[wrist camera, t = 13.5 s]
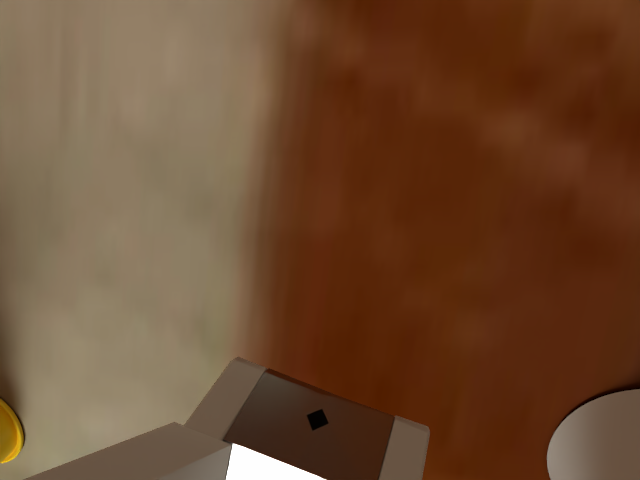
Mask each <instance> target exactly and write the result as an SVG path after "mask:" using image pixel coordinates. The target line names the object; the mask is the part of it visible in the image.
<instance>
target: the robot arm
mask: <svg viewBox="0 0 640 480" xmlns="http://www.w3.org/2000/svg"><path fill="white" fill-rule="evenodd" d="M429 435H430V431H429V428H428V426H425V425H422V424H419V423H416V422H413V421H410V420H407V419H404V418H401V417H399V416H396V415H395V417H394V416H393V415H391V414H388V413H385V412H382V411H379V410H377V409H374V408H371V407H368V406H366V405H363V404H360V403H357V402H355V401H352V400H349V399H346V398H344V397H341V396H338V395H335V394H333V393H330V392H328V391H325V390H323V389H320V388H318V387H315V386H313V385H310V384H307V383H305V382H302V381H300V380H297V379H295V378H292V377H290V376H287V375H285V374H282V373H280V372H277V371H275V370H272V369H270V368H269V369H267V368H266V367H263V366H260V365H258V364H255V363H253V362H250V361H248V360H245V359H243V358H240V357H237V358H235V359H233V360H232V361H231V362H230V363H229V364H228V366H227V367H226V368H225V370H224V371H223V372H222V374H221V375H220V377H219V378H218V379H217V381H216V382H215V383H214V385H213V386H212V388H211V389H210V390H209V392H208V393H207V394H206V396H205V397H204V399H203V400H202V401H201V403H200V404H199V405H198V407H197V408H196V409H195V411H194V412H193V414H192V415H191V416H190V418H189V419H188V420H187V422H186V423H185V425H184V426H183V425H181V424H178V423H175V422H173V423H170V424H168V425H165V426H162V427H160V428H157V429H155V430H152V431H149V432H147V433H144V434H142V435H139V436H136V437H134V438H131V439H128V440H126V441H123V442H121V443H118V444H115V445H113V446H110V447H107V448H105V449H102V450H100V451H97V452H94V453H92V454H89V455H86V456H84V457H81V458H79V459H76V460H73V461H71V462H68V463H65V464H63V465H60V466H58V467H55V468H52V469H50V470H47V471H44V472H42V473H39V474H37V475H34V476H31V477H29V478H26V479H24V480H422V476H423V470H424V464H425V458H426V452H427V446H428V440H429ZM547 466H548V472H549V476H550V478H551V480H640V389H636V390H628V391H622V392H617V393H612V394H609V395H606V396H603V397H600V398H597V399H595V400H593V401H590V402H588V403H586V404H585V405H583V406H581V407H580V408H578V409H577V410H575V411H574V412H572V413H571V414H570V415H569V416H568V417H567V418H566V419H565V420H564V421H563V422H562V423H561V424H560V425H559V427H558V428H557V430H556V431H555V433H554V435H553V437H552V439H551V441H550V444H549V448H548V454H547Z"/></svg>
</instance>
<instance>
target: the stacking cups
mask: <svg viewBox="0 0 640 480" xmlns="http://www.w3.org/2000/svg"><path fill="white" fill-rule="evenodd" d="M23 441H24V436H23V431H22V427H21V424H20V422H19V420H18V418H17V416H16V415H15V413H14V412H13V411H12V409H11V408H10V407H9V406H8V405H7V404H6V403H5V402H4V401H3V400H2V399H1V398H0V463H4V462H8V461H11V460H12V459H14V458H15V457H16V456H17V455H18V454H19V453H20V451H21V449H22V447H23Z"/></svg>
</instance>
